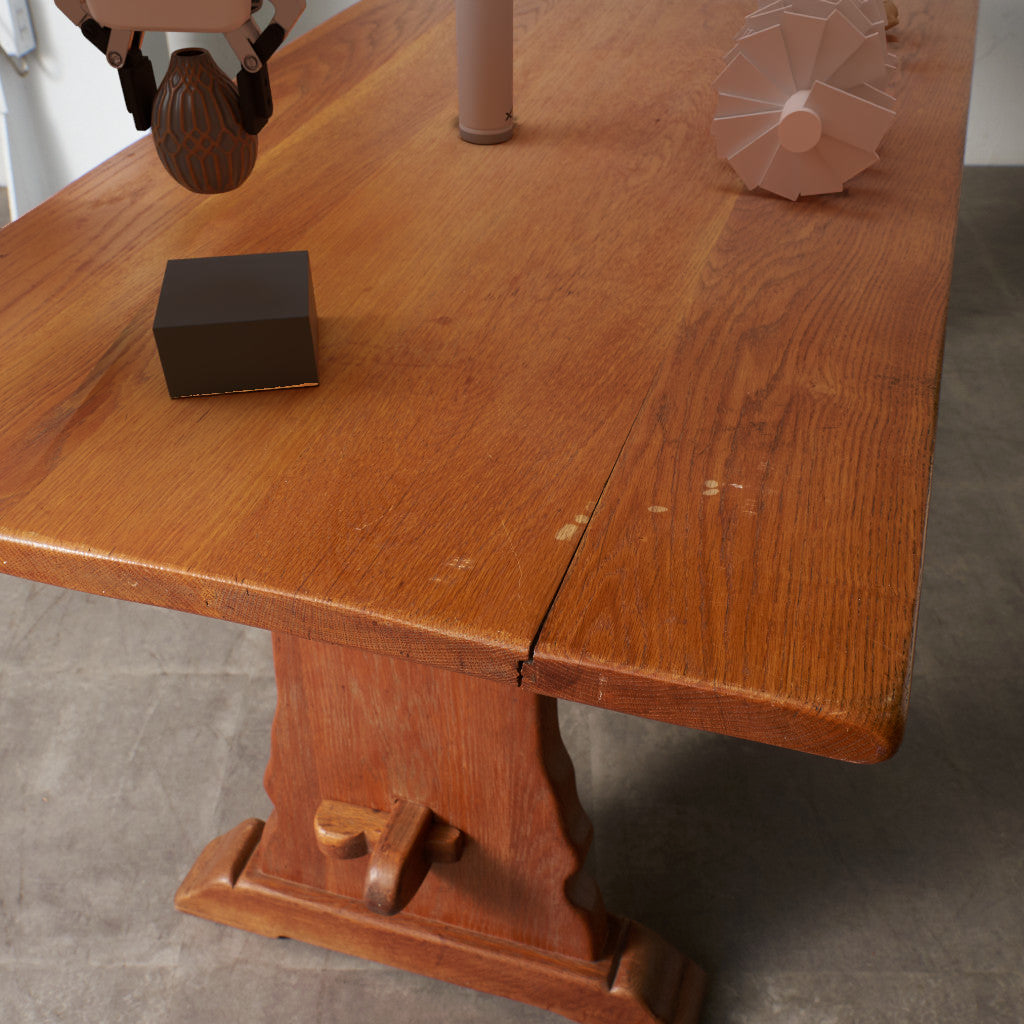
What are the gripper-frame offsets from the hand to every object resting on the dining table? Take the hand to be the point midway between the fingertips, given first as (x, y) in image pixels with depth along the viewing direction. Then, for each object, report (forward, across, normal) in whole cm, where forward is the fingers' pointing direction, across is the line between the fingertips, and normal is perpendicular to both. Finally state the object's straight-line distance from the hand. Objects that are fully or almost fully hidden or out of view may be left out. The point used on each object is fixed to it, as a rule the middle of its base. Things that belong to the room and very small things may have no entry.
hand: (203, 124), depth 68 cm
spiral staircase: (+18, +47, +45) cm, 68 cm away
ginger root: (+15, +58, +94) cm, 112 cm away
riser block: (+18, 0, 0) cm, 18 cm away
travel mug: (+18, +13, +51) cm, 56 cm away
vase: (+4, 0, 0) cm, 4 cm away
